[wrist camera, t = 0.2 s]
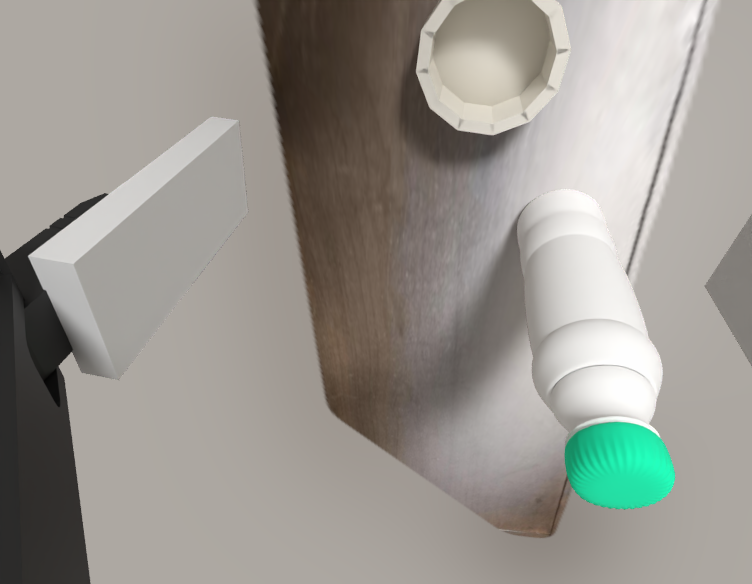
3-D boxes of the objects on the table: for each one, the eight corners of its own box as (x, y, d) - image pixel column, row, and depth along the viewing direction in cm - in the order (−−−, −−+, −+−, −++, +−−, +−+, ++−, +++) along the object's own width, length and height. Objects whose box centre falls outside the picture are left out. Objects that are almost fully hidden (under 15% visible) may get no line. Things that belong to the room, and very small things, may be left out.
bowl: (435, -41, 32) (429, -35, 28) (579, -24, 31) (591, -16, 28) (416, 103, 38) (409, 123, 34) (536, 121, 37) (542, 142, 34)
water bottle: (509, 197, 41) (531, 450, 22) (597, 175, 39) (711, 439, 20) (524, 263, 45) (555, 528, 26) (606, 247, 43) (708, 527, 23)
